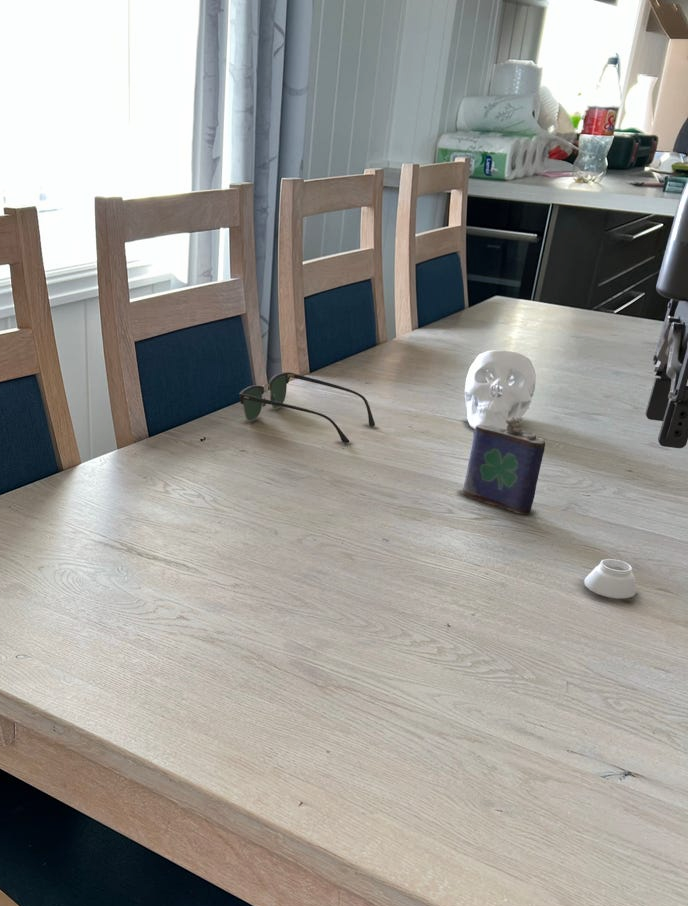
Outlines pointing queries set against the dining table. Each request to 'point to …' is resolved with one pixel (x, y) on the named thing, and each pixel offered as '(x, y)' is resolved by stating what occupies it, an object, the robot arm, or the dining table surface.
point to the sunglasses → (277, 387)
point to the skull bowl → (499, 388)
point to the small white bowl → (612, 579)
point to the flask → (504, 466)
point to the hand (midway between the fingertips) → (663, 432)
